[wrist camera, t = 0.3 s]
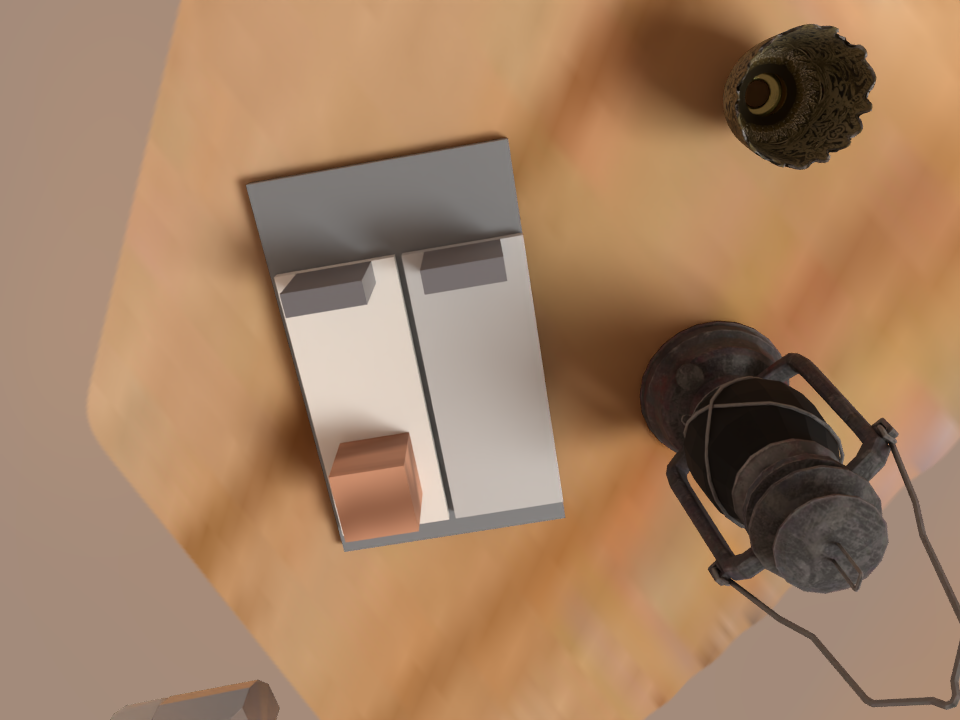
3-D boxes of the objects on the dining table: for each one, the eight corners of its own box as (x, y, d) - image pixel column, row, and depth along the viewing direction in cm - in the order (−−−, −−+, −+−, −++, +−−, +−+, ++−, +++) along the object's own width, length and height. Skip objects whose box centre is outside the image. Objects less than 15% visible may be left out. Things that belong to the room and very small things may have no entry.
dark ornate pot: (674, 112, 51) (710, 120, 43) (747, 5, 48) (798, -6, 41) (764, 175, 52) (814, 194, 45) (839, 75, 50) (904, 77, 42)
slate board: (249, 182, 52) (245, 184, 51) (507, 137, 51) (507, 139, 50) (346, 544, 61) (344, 551, 60) (563, 510, 61) (565, 517, 60)
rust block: (339, 443, 56) (328, 477, 51) (409, 432, 56) (403, 465, 51) (355, 503, 58) (345, 542, 53) (422, 493, 58) (418, 531, 53)
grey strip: (402, 253, 52) (395, 274, 47) (522, 232, 52) (528, 252, 46) (456, 512, 59) (454, 558, 54) (561, 496, 59) (571, 540, 53)
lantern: (726, 280, 55) (1003, 510, 26) (826, 374, 57) (1176, 675, 29) (601, 406, 58) (729, 730, 30) (701, 489, 60) (906, 861, 32)
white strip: (276, 274, 53) (254, 298, 47) (394, 254, 52) (386, 276, 47) (344, 530, 60) (332, 576, 54) (449, 513, 59) (447, 559, 54)
